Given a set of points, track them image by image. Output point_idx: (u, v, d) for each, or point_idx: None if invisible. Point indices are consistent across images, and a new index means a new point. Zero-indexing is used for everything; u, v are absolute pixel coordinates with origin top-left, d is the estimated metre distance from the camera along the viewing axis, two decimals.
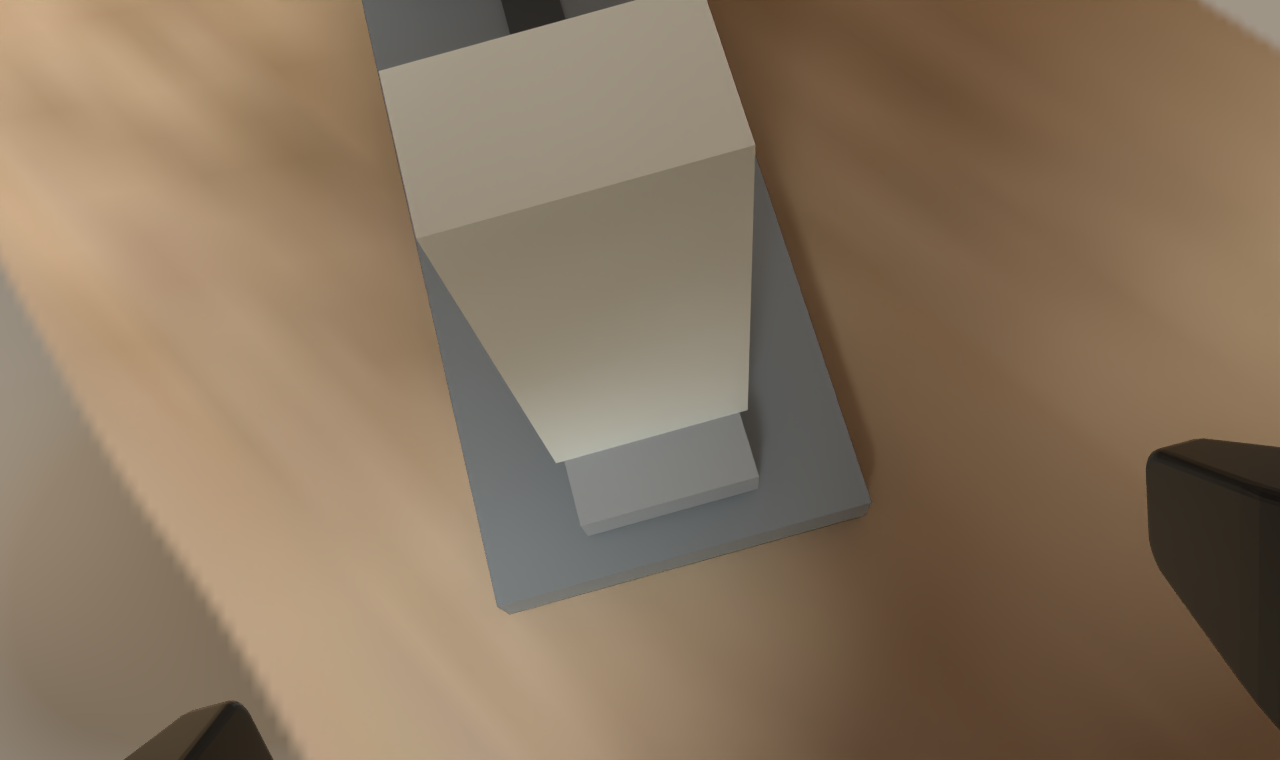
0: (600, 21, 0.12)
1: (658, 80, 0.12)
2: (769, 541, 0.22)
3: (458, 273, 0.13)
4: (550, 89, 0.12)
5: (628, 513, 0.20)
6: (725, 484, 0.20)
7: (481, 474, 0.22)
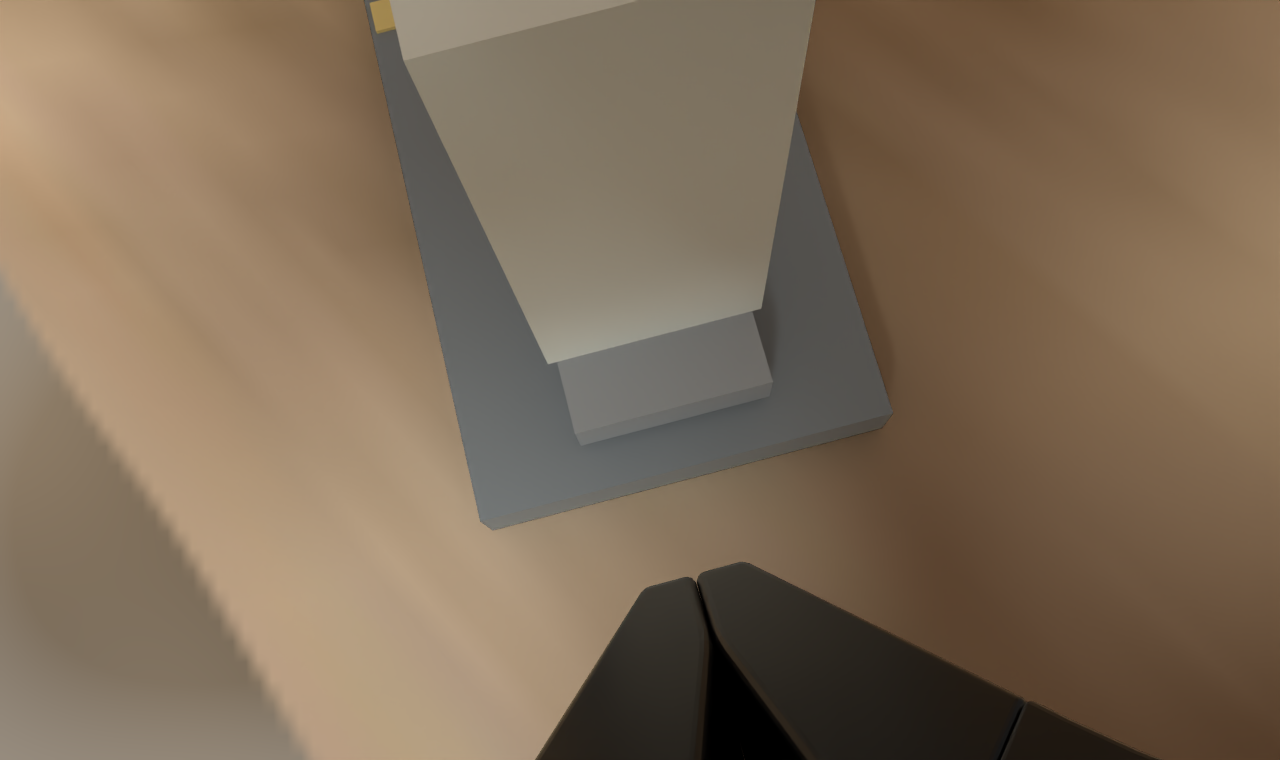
0: None
1: None
2: (777, 455, 0.20)
3: (452, 113, 0.10)
4: None
5: (627, 420, 0.18)
6: (735, 390, 0.18)
7: (463, 377, 0.20)
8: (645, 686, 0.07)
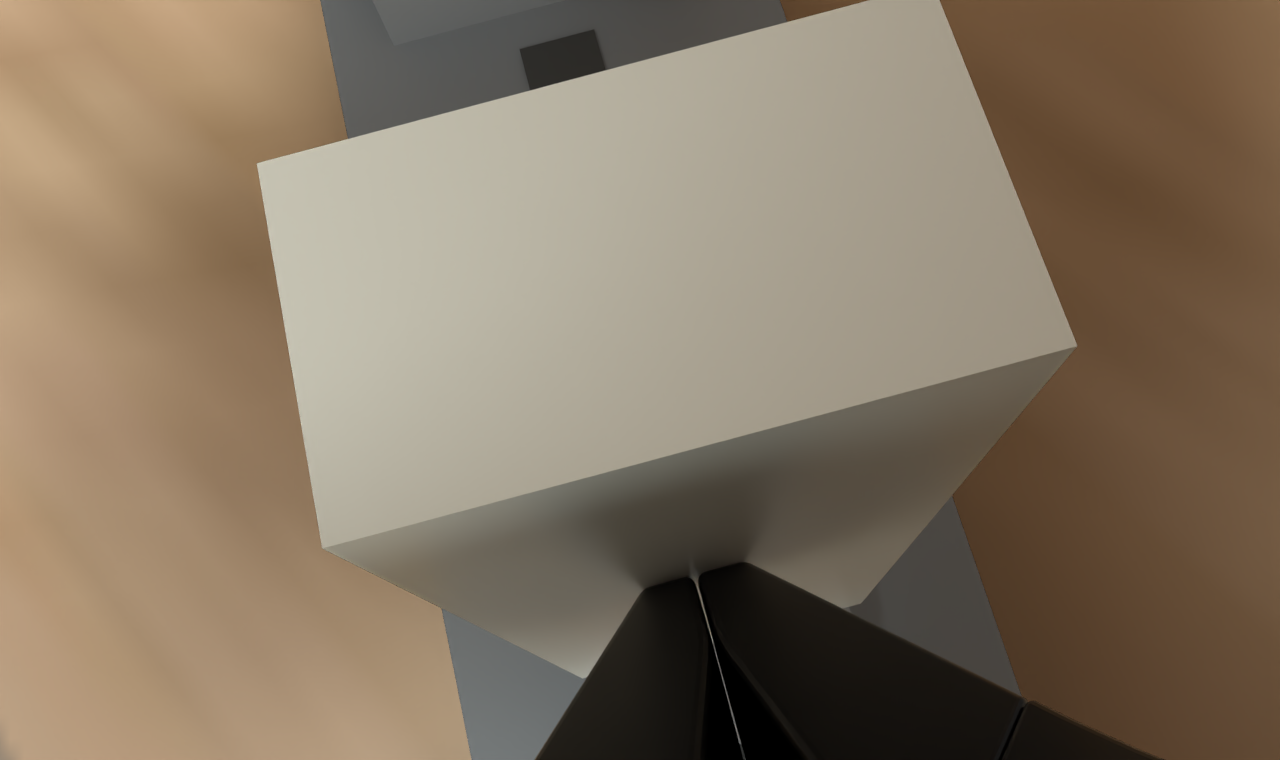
0: (724, 64, 0.06)
1: (850, 194, 0.06)
2: None
3: (422, 571, 0.06)
4: (619, 211, 0.06)
5: None
6: None
7: (489, 749, 0.15)
8: (644, 686, 0.07)
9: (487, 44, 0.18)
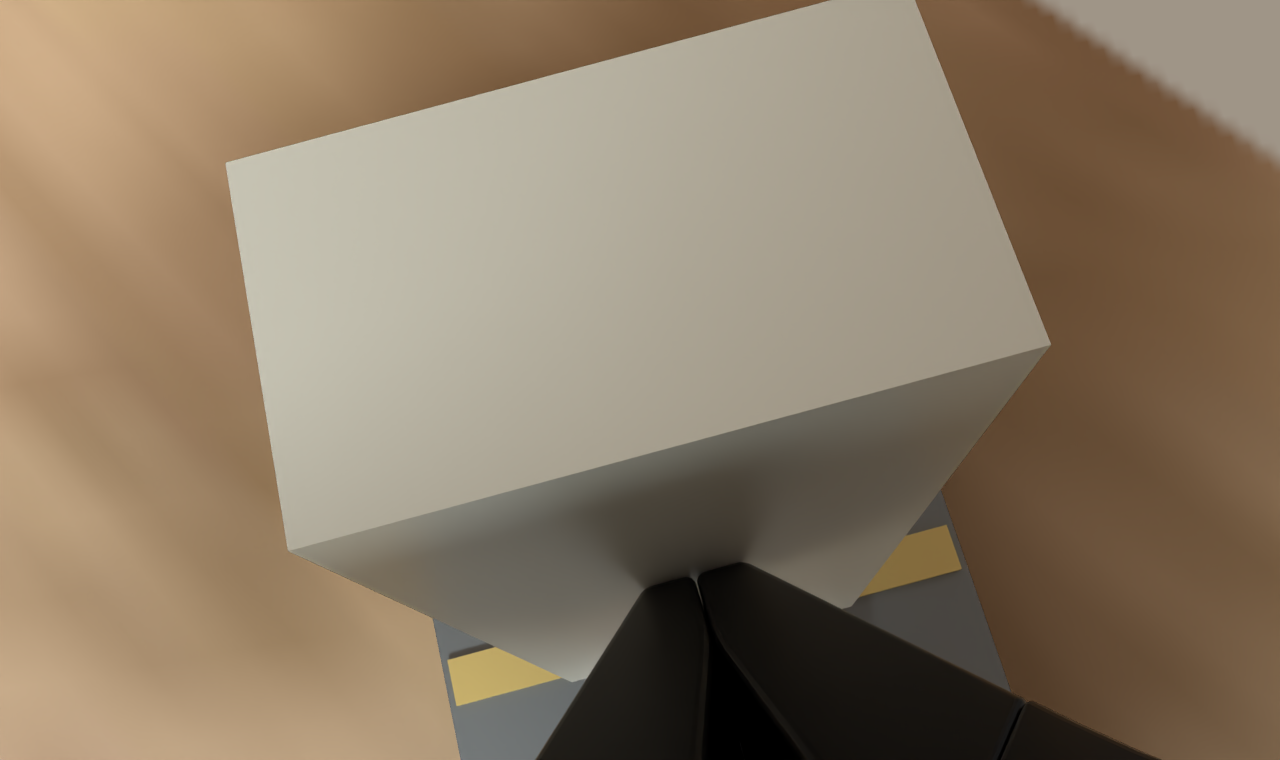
0: (696, 60, 0.06)
1: (825, 192, 0.06)
2: None
3: (394, 573, 0.06)
4: (589, 209, 0.06)
5: None
6: None
7: None
8: (645, 686, 0.07)
9: None
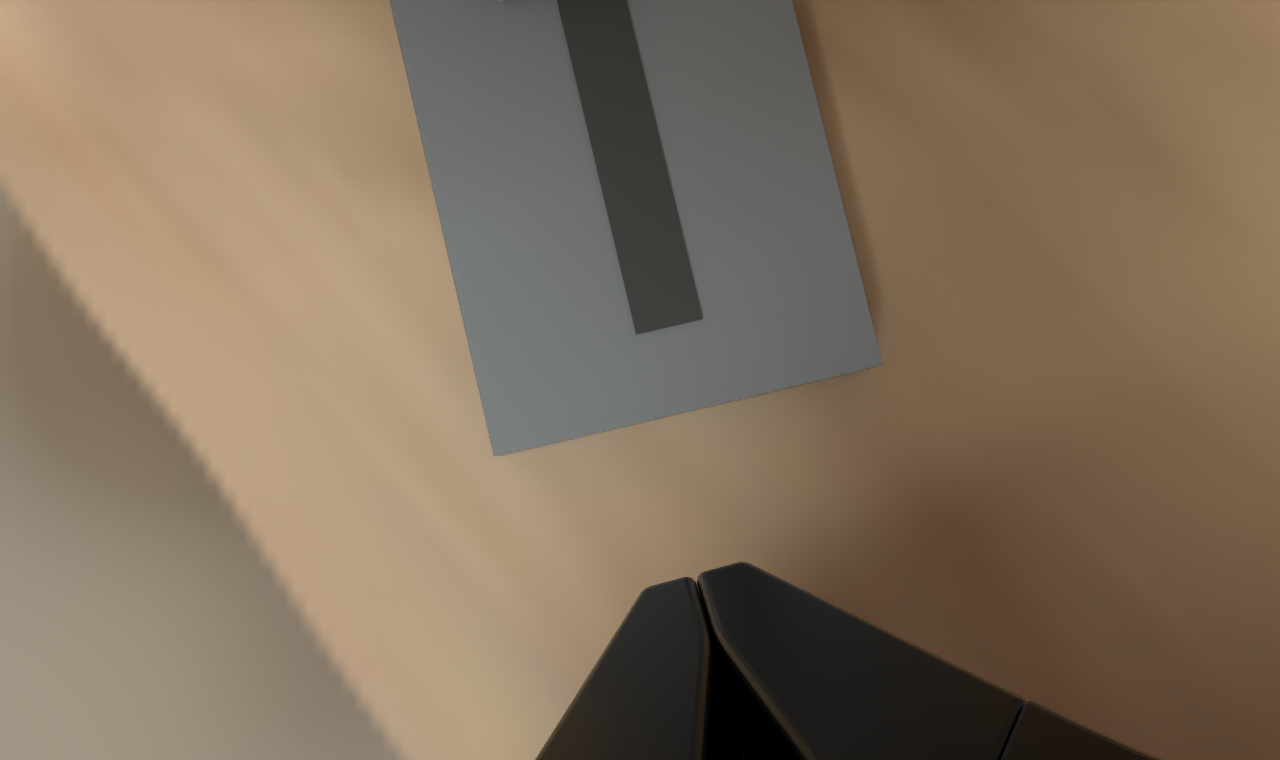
0: None
1: None
2: None
3: None
4: None
5: None
6: None
7: (476, 316, 0.21)
8: (645, 686, 0.07)
9: None
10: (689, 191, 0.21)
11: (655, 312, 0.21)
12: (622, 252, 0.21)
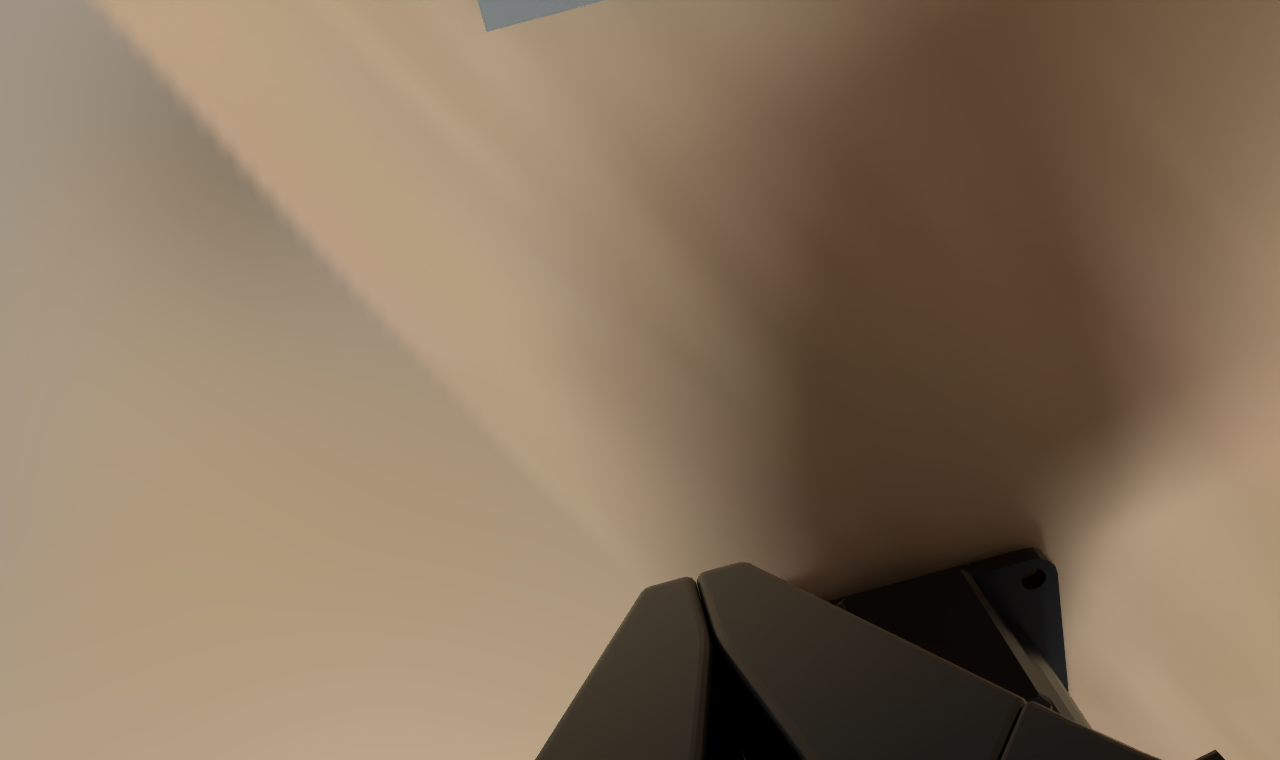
0: None
1: None
2: None
3: None
4: None
5: None
6: None
7: None
8: (645, 686, 0.07)
9: None
10: None
11: None
12: None
